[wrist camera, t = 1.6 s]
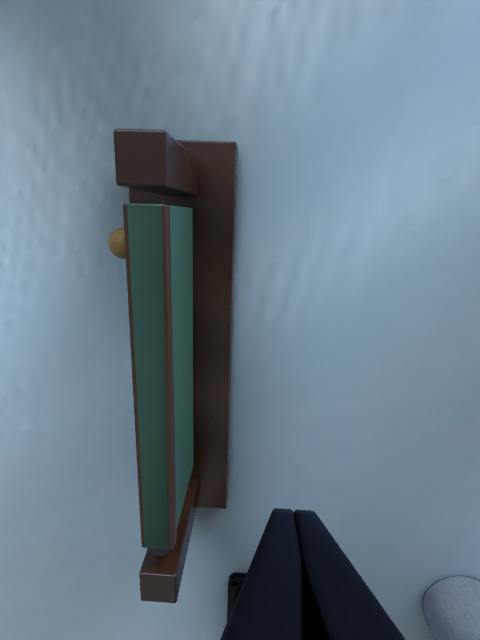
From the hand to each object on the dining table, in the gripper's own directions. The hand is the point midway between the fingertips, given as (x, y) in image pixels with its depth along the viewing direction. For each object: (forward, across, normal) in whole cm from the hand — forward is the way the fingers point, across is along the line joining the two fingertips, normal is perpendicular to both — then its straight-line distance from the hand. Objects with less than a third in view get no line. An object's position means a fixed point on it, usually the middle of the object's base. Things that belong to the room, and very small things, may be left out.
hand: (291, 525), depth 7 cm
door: (+11, +5, +1) cm, 13 cm away
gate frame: (+13, +5, +1) cm, 13 cm away
